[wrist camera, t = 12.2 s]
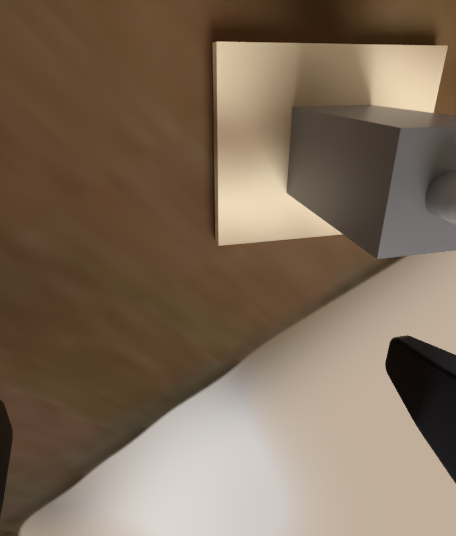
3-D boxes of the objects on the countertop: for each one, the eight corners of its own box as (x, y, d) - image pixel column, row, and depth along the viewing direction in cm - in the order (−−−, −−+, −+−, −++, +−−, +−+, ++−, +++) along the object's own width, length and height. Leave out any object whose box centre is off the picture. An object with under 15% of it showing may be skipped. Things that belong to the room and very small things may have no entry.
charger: (359, 188, 21) (522, 267, 12) (286, 193, 20) (408, 281, 11) (371, 104, 19) (572, 130, 10) (292, 106, 18) (441, 136, 10)
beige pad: (400, 223, 23) (408, 227, 22) (215, 239, 21) (218, 245, 20) (435, 46, 19) (447, 45, 18) (212, 42, 17) (216, 41, 16)
